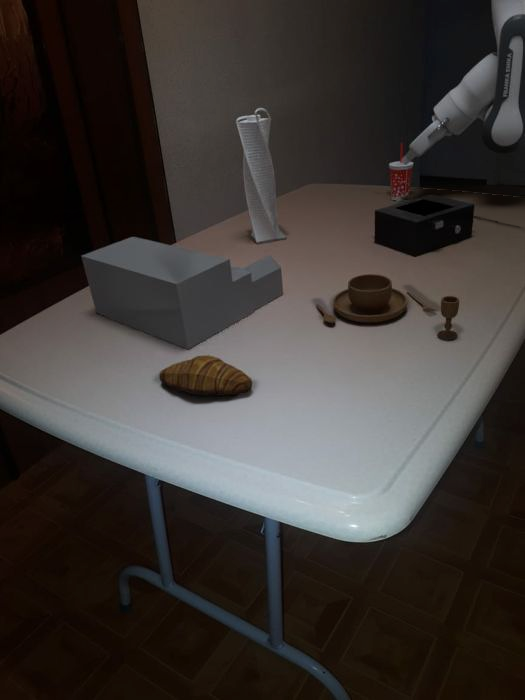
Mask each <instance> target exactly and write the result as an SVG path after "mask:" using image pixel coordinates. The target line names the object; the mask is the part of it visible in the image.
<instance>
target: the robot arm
mask: <svg viewBox="0 0 525 700" xmlns="http://www.w3.org/2000/svg"><path fill="white" fill-rule="evenodd" d="M490 7H491V20H492V27H493V32H494V37H495V42H496V50H497V51H495V52H491V53H490V54H487V55H486V56H484V57H483V58H482V59H481V60H480V61H479V62H478V63H476V64H475V65H474V66H473V67H472V68H471V69H470V70H469V71H467V73H466V74H465V75H464V76H463V78H462V80H461V81H460V82H459V84H458V85H457V86H455V87H454V88H453V89H452V88H451V90H449V91H448V93H446V94H445V96H443V97H442V99H440V101H439V102H438V103H437V104H436V105H435V106H434V107H433V112H434V114H433V115H432V116H431V120H432V123H430V124H429V125H428V126H427V127H426V128H425V129H424V130H423V131H422V132H421V133H420V134H419V135H418V136H417V137H416V138H415V139H414V140H413V141H412V142H411V143H410V144H409V146H408V149H409V150H408V152H406V154H405V155H404V156H402V160H401V161H402V163H403V164H404V165H407V164H408V163H409V162H412V160H413V159H415V158H416V157H417V158H420V157H422V156H423V155H424V154H425V153H426V152H428V150H430V149H431V148H432V147H433V146H434V145H435V144H436V143H437V142H438V141H440V140H441V139H443V138H444V137H445V136H446V137H451V136H452V135H455V136H460V134H462V133H463V132H464V131H465V130H466V129H467V128H468V127H469V126H470V125H471V124H472V123H473V122H474V121H475V120H476V119H480V120H481V121H482V122H483V124H482V128H481V139H482V142H483V144H484V146H485V147H486V148H487V149H488V150H489V151H492V152H494V153H496V154H511V153H513V152H516V151H518V150H520V149H521V148H522V147H524V146H525V0H491V6H490Z"/></svg>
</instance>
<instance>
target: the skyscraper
mask: <svg viewBox="0 0 525 700" xmlns="http://www.w3.org/2000/svg"><path fill="white" fill-rule="evenodd" d="M253 112H254V114H251V115H242V116H239V117H237V118H236V120H235V123H236V127H237V130H238V135H239V138H240V143H241V145H242V150H243V157H242V158H243V159H242V172H243V175H242V176H243V185H244V194H245V198H246V199H245V200H246V205H247V210H248V214H249V215H248V216H249V219H250V223H251V227H252V230H251V233H249V235H250V238H252V240H253V241H254V242H255V244H256V245H260V244H266V243H270V242H271V243H272V242H277V241H282V240H287V236H286V235H285V234H284V233H283V232H282V231H281V230H280V226H279V214H278V209H277V208H278V207H277V193H276V192H277V190H276V189H277V188H276V177H275V169H274V164H273V159H272V154H271V152H270V149H269V141H270V133H271V132H270V130H271V123H272V122H271V121H272V117H271V115H270V113H269V112H268V110H267V109H266V108H263V107H258V108H256V109H255V111H253ZM258 112H264V113H266V115H267V118H266V117H265V118H261V114H258Z"/></svg>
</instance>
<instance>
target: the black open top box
mask: <svg viewBox="0 0 525 700" xmlns="http://www.w3.org/2000/svg"><path fill="white" fill-rule="evenodd" d="M475 205H476V204H475V203H470V202H466V201H462V200H458V199H453V198H449V197H444V196H440V195H435V194H432V193H431V194H427V195H424V196H420V197H416V198H412V199H408V200H406V201H402V202H399V203H396V204H392V205H389V206H385V207H382V208H378V209H375V210H374V243H375V244H376V245H380V246H383V247H386V248H389V249H392V250H395V251H397V252H400V253H403V254H406V255H409V256H412V257H414V258H415V257H416V258H417V257H418V256H422V255H424V254H427V253H430V252H433V251H436V250H439V249H441V248H445V247H448V246H451V245H454V244H456V243H460V242H462V241H465V240H468V239H470V238H472V237H473V227H474V217H475V216H474V215H475Z"/></svg>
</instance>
